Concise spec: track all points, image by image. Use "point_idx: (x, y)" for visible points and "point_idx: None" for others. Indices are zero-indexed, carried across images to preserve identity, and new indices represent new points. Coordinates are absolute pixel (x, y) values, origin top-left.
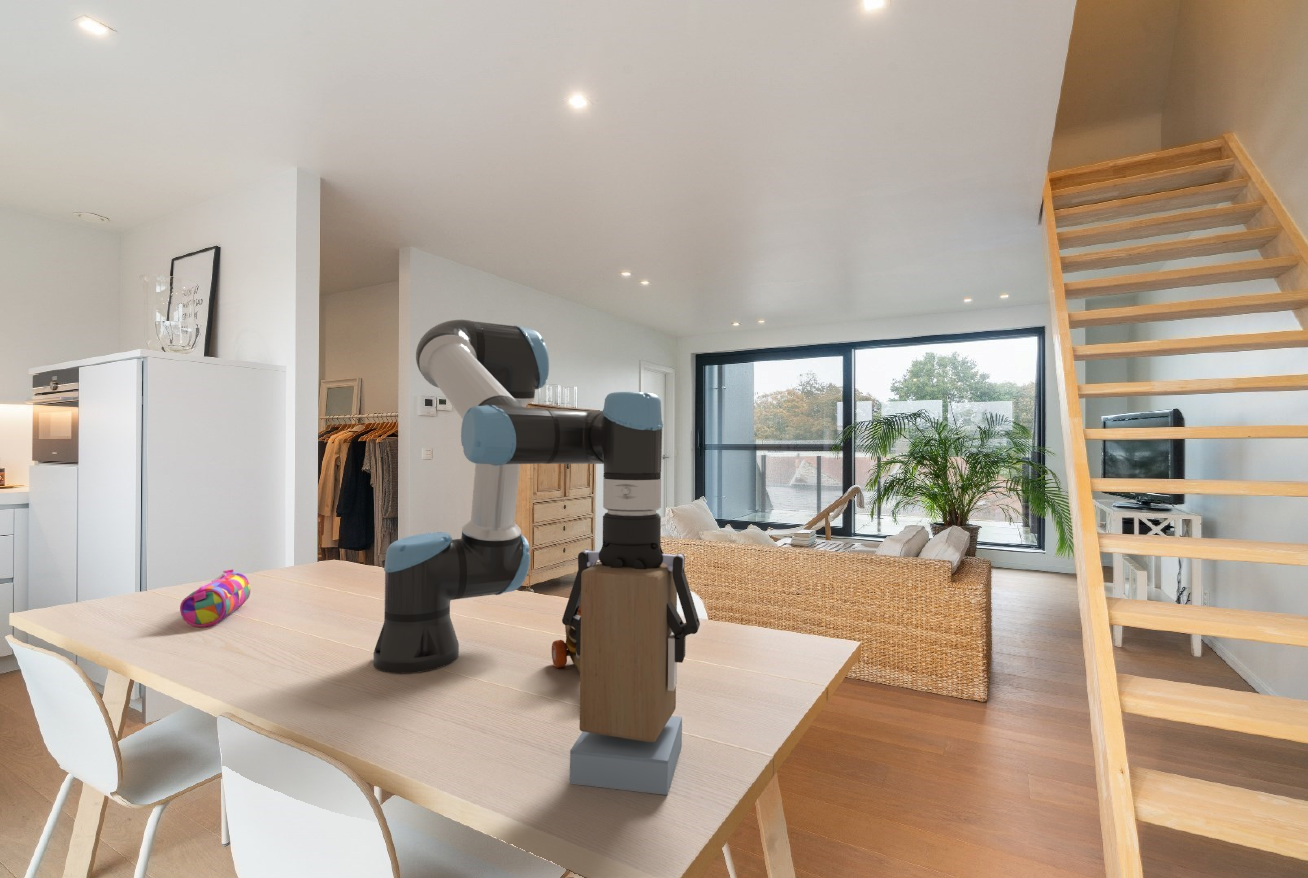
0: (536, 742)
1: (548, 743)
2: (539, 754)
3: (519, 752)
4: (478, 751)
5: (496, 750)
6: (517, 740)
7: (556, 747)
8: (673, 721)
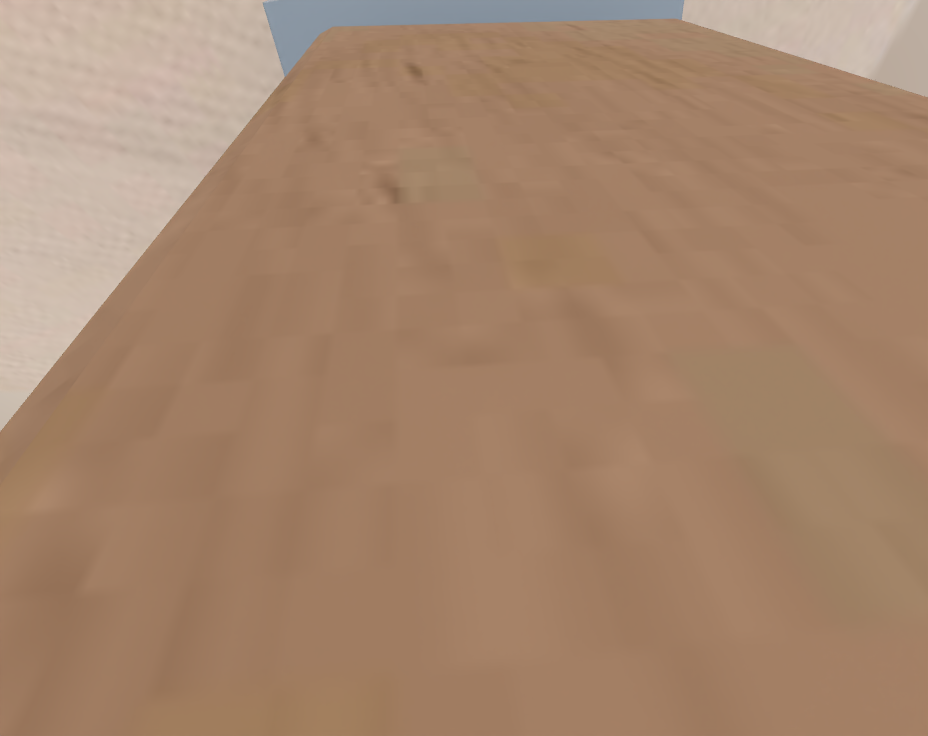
0: (108, 120)
1: (153, 111)
2: (188, 192)
3: (121, 203)
4: (6, 242)
5: (46, 218)
6: (35, 131)
7: (201, 129)
8: (651, 12)
